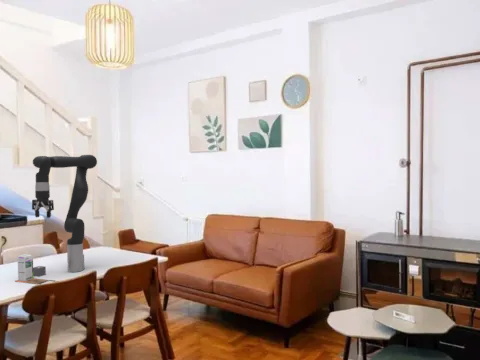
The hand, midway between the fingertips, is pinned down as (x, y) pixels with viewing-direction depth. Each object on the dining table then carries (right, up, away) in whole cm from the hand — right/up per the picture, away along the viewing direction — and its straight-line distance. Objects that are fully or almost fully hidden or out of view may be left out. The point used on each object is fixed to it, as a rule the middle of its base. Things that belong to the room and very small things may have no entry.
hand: (42, 217), depth 232 cm
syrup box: (-8, -36, -4) cm, 37 cm away
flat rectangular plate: (0, -36, -6) cm, 37 cm away
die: (-6, -36, +7) cm, 37 cm away
